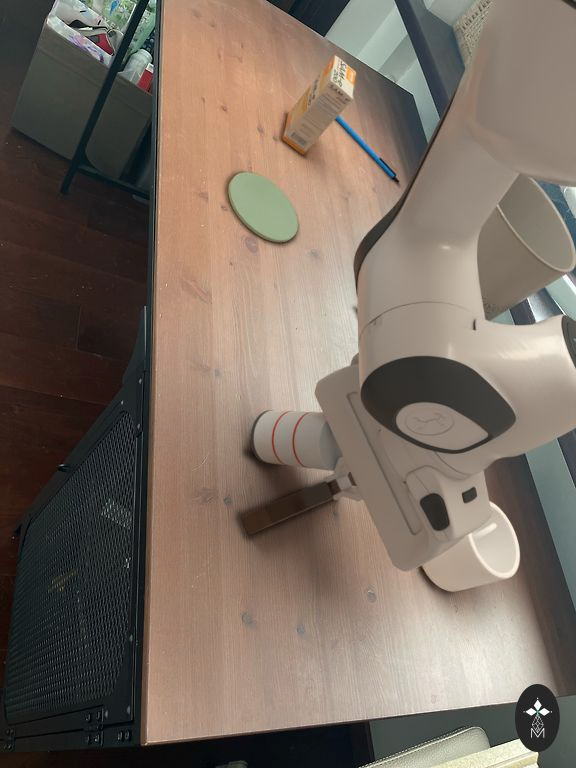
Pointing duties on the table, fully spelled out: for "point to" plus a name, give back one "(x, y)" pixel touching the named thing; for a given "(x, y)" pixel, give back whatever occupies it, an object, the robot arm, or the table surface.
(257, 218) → the coaster
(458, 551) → the mug
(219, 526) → the table surface
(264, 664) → the table surface
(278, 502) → the rail
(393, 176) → the pen
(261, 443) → the white striped cylinder
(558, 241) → the planter
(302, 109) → the supplement box
